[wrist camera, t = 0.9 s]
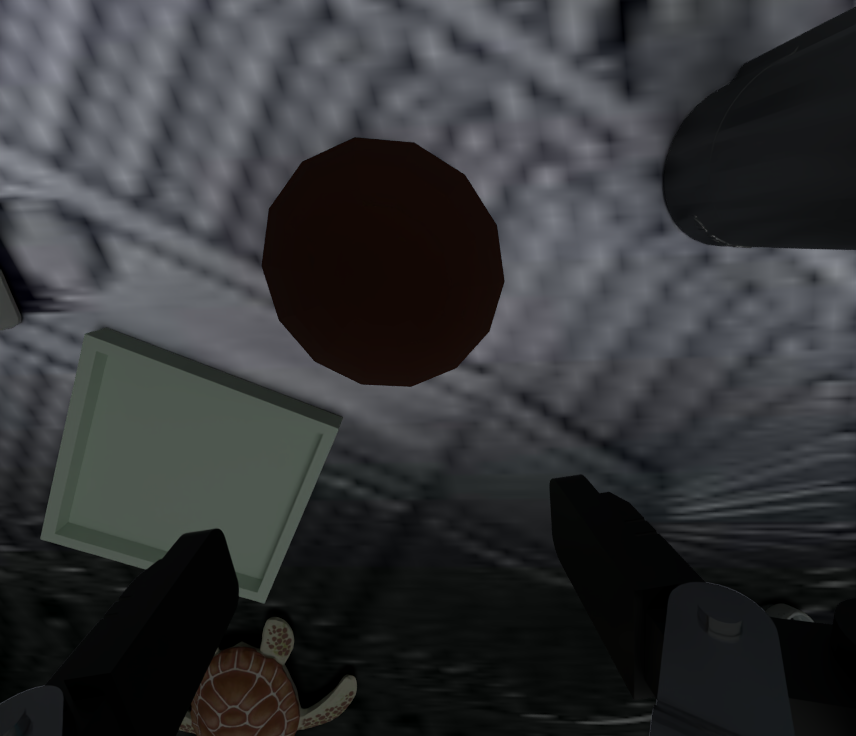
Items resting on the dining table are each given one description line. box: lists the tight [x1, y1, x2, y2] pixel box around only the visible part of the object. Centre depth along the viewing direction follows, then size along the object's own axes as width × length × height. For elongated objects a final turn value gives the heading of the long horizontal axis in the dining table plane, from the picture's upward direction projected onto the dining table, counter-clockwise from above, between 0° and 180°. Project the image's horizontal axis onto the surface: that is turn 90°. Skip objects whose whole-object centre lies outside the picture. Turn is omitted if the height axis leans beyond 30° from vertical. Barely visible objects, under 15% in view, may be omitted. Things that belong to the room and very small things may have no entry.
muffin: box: [262, 137, 504, 387], centre depth 21 cm, size 12×11×10 cm
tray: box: [40, 328, 343, 603], centre depth 28 cm, size 16×16×2 cm
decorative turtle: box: [179, 617, 357, 736], centre depth 34 cm, size 18×17×5 cm
